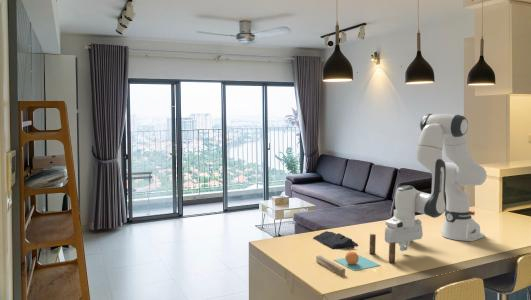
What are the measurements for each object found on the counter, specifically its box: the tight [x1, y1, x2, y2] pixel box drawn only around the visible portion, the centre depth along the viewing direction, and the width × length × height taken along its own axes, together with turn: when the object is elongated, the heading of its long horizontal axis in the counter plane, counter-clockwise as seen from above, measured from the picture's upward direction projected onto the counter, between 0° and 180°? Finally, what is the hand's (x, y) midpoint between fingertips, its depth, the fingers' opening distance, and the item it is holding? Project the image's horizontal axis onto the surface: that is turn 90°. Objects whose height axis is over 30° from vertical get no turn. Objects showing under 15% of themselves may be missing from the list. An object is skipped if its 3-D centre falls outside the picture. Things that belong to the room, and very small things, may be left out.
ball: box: [344, 250, 359, 265], centre depth 179 cm, size 6×6×6 cm
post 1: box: [369, 233, 377, 256], centre depth 193 cm, size 3×3×9 cm
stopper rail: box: [315, 255, 346, 277], centre depth 175 cm, size 2×18×2 cm, turn 26°
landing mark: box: [333, 254, 381, 272], centre depth 181 cm, size 14×14×1 cm
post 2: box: [388, 241, 397, 265], centre depth 182 cm, size 3×3×9 cm
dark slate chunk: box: [312, 230, 359, 250], centre depth 211 cm, size 15×22×5 cm
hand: (403, 250), depth 193 cm, fingers closed
